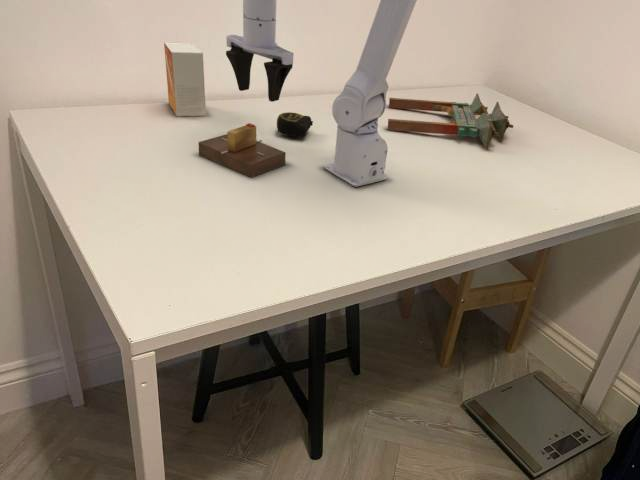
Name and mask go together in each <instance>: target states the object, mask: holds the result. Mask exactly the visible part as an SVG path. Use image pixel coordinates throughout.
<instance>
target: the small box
mask: <svg viewBox="0 0 640 480" xmlns="http://www.w3.org/2000/svg"><path fill="white" fill-rule="evenodd" d="M163 46H164V58H165V73H166V85H167V97H168V98H167V99H168V105H169V106H170V108H171V109H172V110H173V113H174V114H175V116H176V117H201V116H202V117H203V116H204V117H205V116H207V109H206V108H207V105H206V88H205V87H206V86H205V70H204V69H205V68H204V53H203V51H202V50H201V48H199V47H198V46H197V45H196V44H195V42H172V41H169V42H167V41H165V42H163Z"/></svg>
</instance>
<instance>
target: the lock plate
mask: <svg viewBox="0 0 640 480" xmlns="http://www.w3.org/2000/svg"><path fill="white" fill-rule="evenodd" d="M286 153H287V152H286V151H283V150H281V149H279V148H277V147H274V146H271V145H269V144H266V143H263V140H262V139H259V140H256V144H255V145H252V146H250V147H247V148H244V149H242V150H239V151H236V152H233V151H230V150H228V133H225V134H222V135H219V136H215V137H212V138H208V139H205V140H201V141H198V156H200V157H203V158H205V159H207V160H209V161H212V162H215V163H217V164H219V165H221V166H223V167H226V168H229V169H231V170H233V171H234V172H238V173H240V174H243V175H245V176H247V177H249V178H254V177H257V176H259V175H261V174H264V173H265V174H266V173H267V172H269V171H272V170H275V169H278V168H281V167H282V166H285V165H286V157H287V155H286Z"/></svg>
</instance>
